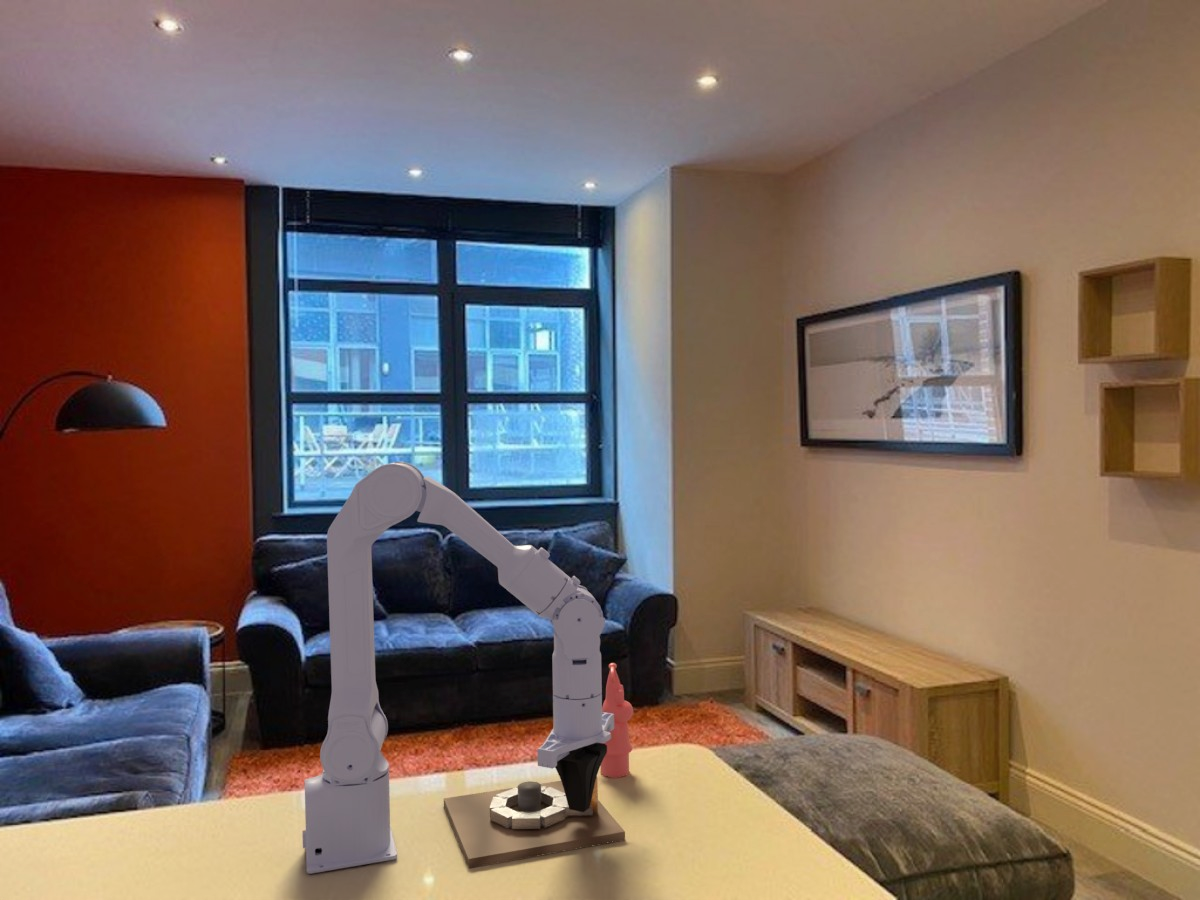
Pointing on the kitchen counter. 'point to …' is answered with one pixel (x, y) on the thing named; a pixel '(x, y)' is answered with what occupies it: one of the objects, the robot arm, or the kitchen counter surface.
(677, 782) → the kitchen counter surface
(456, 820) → the peg base
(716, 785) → the kitchen counter surface
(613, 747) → the figurine
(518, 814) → the white segmented ring
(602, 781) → the kitchen counter surface
